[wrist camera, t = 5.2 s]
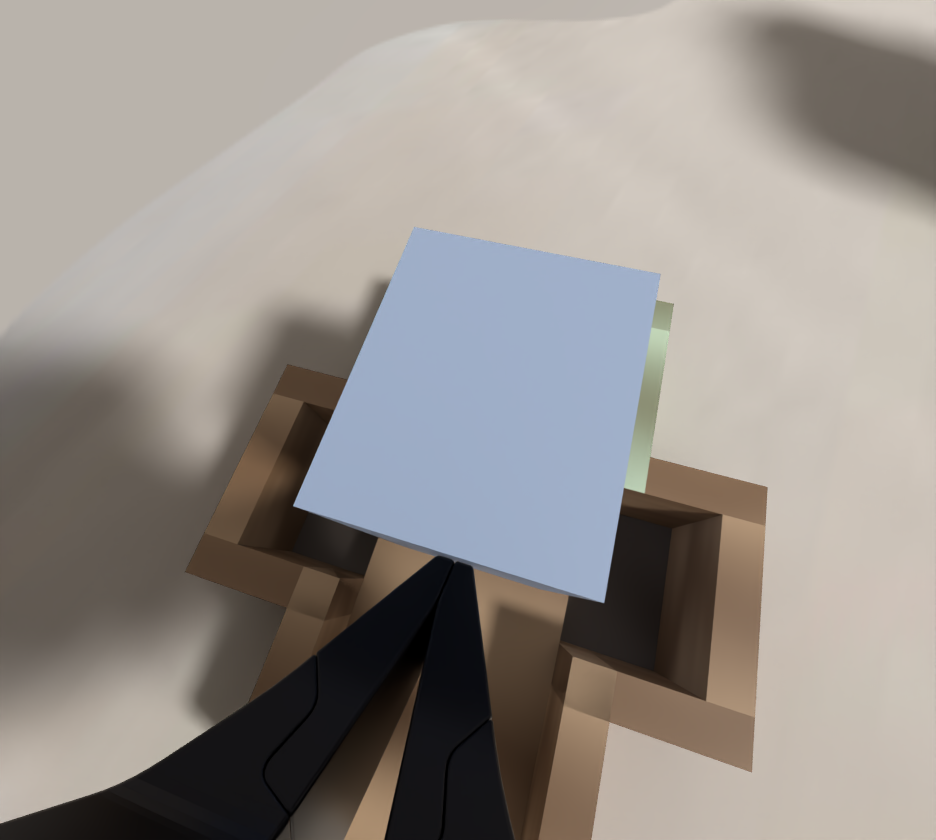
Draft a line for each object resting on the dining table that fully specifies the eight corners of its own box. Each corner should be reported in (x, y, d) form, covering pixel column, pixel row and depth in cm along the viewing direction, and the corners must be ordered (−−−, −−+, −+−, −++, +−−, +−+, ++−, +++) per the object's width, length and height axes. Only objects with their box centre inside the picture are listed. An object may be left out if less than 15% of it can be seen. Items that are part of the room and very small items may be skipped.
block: (539, 589, 14) (603, 603, 6) (403, 546, 15) (292, 506, 7) (574, 430, 16) (660, 273, 8) (452, 399, 17) (414, 226, 9)
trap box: (659, 947, 12) (733, 1108, 8) (179, 742, 15) (73, 798, 11) (719, 375, 18) (776, 324, 15) (375, 299, 21) (349, 238, 17)
